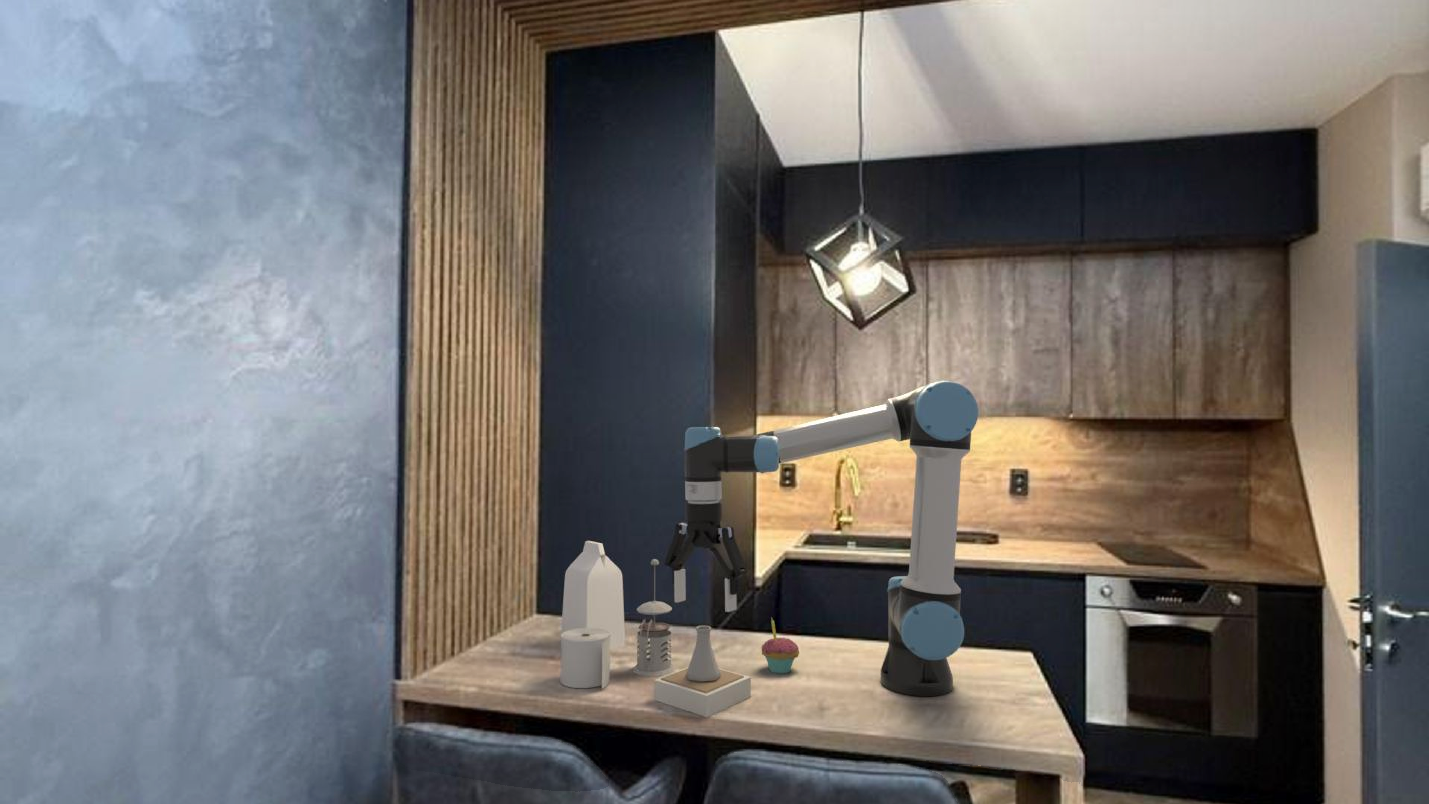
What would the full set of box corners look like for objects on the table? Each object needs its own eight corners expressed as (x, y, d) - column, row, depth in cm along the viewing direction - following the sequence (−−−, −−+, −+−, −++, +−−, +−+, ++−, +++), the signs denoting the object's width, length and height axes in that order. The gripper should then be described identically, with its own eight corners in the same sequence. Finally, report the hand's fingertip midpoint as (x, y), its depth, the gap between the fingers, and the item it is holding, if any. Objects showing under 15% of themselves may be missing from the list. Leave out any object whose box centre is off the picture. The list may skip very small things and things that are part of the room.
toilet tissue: (576, 670, 168) (577, 625, 168) (623, 676, 163) (624, 630, 164) (550, 685, 158) (551, 638, 158) (600, 692, 153) (600, 643, 154)
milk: (560, 644, 187) (561, 542, 188) (598, 636, 195) (599, 537, 196) (586, 655, 178) (587, 547, 179) (625, 646, 186) (626, 543, 187)
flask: (720, 683, 147) (720, 632, 147) (684, 682, 147) (684, 632, 147) (721, 671, 154) (721, 623, 154) (686, 670, 154) (687, 622, 154)
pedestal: (750, 696, 151) (750, 675, 151) (706, 717, 140) (707, 694, 140) (698, 681, 160) (699, 661, 160) (654, 699, 149) (654, 678, 149)
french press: (681, 664, 172) (681, 556, 173) (664, 680, 161) (665, 565, 161) (641, 660, 174) (642, 554, 175) (622, 676, 163) (623, 563, 164)
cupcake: (768, 677, 163) (768, 622, 163) (756, 665, 171) (756, 613, 172) (804, 674, 165) (804, 620, 166) (790, 662, 173) (790, 611, 174)
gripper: (647, 500, 157) (648, 600, 156) (740, 506, 141) (742, 618, 140) (671, 497, 162) (672, 594, 162) (763, 503, 147) (765, 610, 146)
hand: (704, 605), depth 151 cm, fingers open, 13 cm apart
